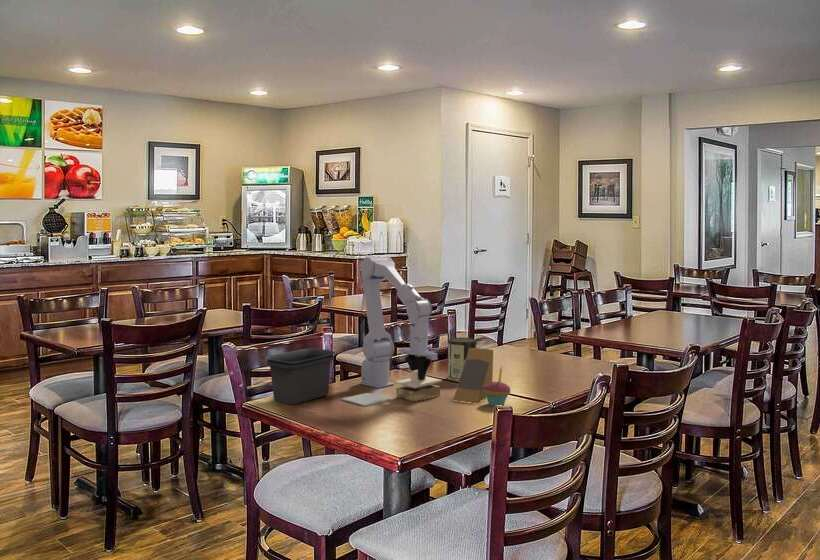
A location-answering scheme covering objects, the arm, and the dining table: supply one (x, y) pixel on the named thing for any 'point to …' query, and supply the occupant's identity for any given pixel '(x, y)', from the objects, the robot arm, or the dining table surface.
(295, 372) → the storage bin
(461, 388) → the sandwich container
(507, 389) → the cupcake
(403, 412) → the dining table surface
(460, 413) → the dining table surface
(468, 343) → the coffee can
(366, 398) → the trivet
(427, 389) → the box
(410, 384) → the lid
